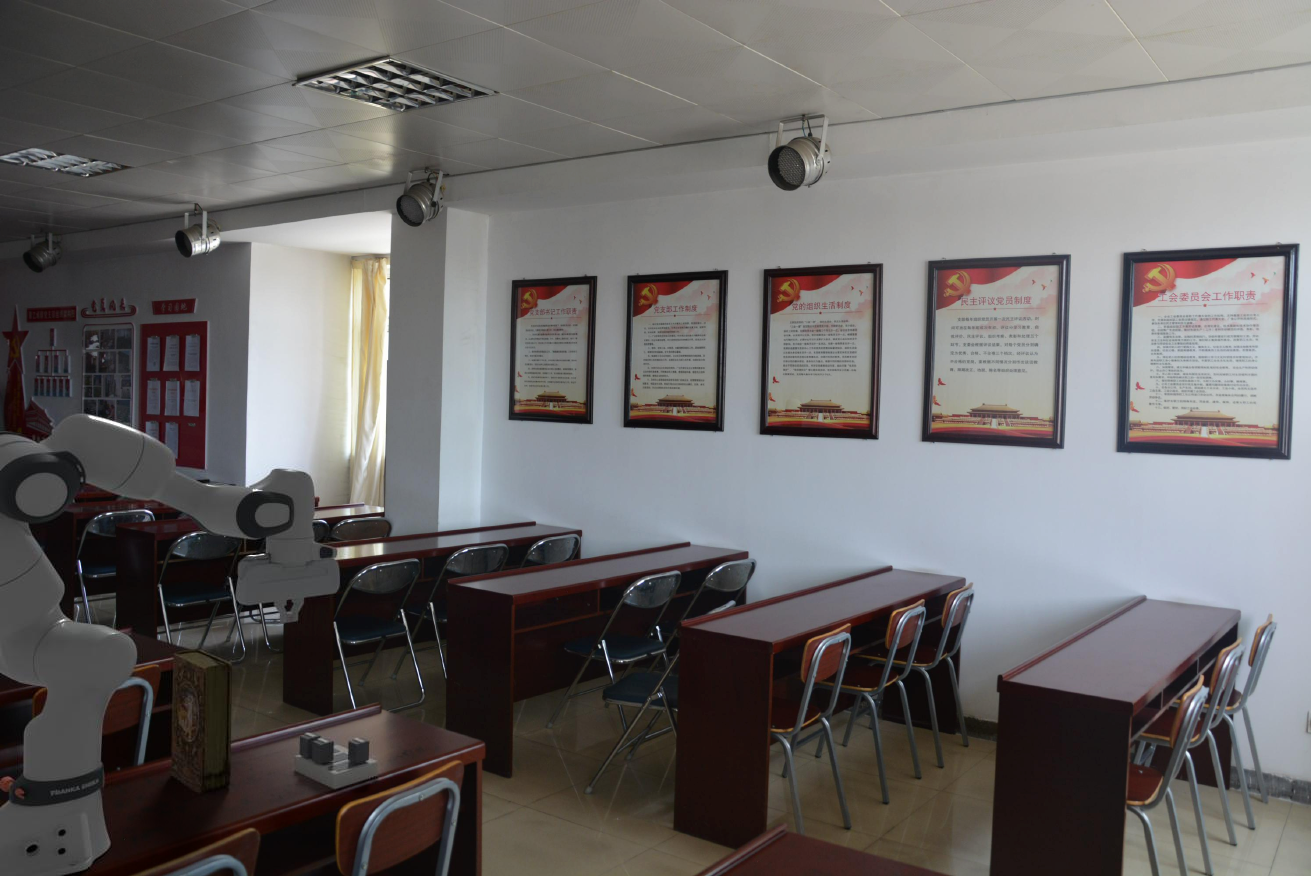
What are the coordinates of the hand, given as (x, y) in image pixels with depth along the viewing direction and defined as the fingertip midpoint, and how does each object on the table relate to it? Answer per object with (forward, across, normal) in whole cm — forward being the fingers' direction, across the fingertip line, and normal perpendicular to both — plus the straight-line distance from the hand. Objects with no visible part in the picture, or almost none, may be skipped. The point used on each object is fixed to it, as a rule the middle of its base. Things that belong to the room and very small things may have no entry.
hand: (288, 621), depth 186 cm
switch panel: (+34, +13, +3) cm, 37 cm away
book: (+34, -8, +19) cm, 40 cm away
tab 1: (+31, +10, +8) cm, 33 cm away
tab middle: (+31, +10, +3) cm, 32 cm away
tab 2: (+31, +15, -2) cm, 34 cm away
